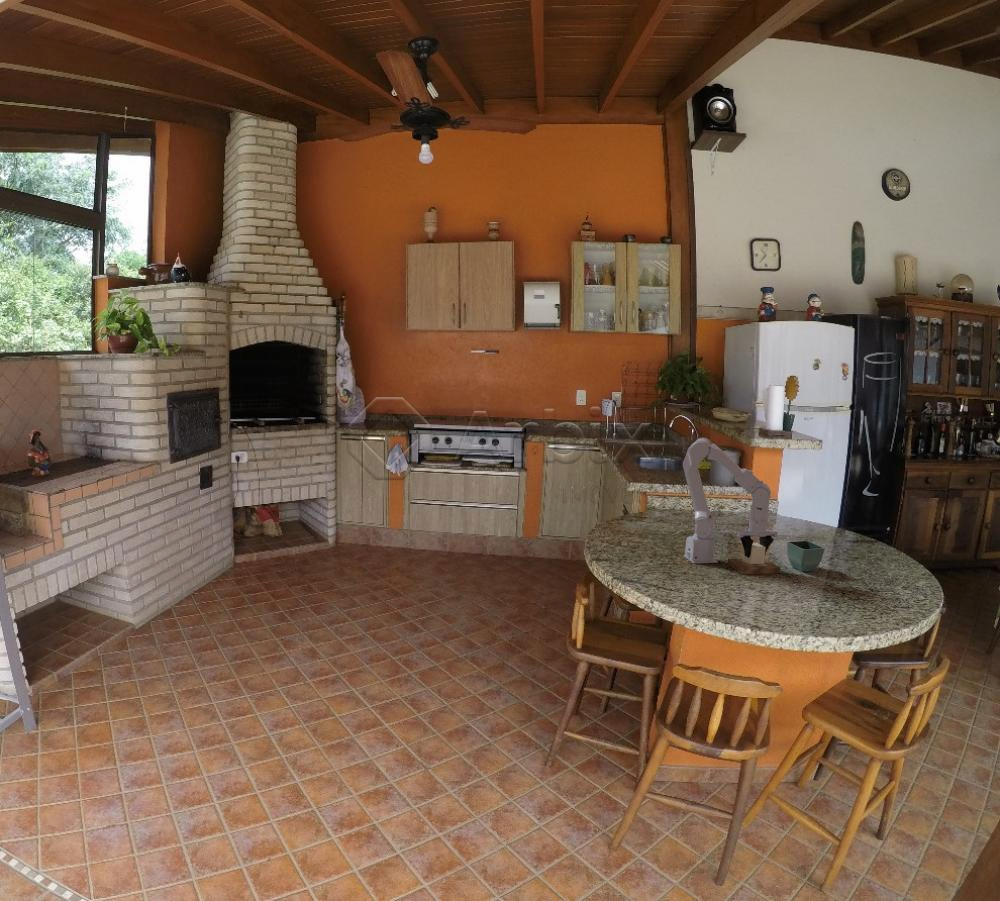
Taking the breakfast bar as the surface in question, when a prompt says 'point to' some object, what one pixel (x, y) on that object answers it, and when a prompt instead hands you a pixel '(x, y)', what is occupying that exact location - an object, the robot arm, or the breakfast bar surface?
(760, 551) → the cream block
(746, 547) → the robot arm
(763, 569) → the walnut base
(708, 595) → the breakfast bar surface
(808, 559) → the flower pot
